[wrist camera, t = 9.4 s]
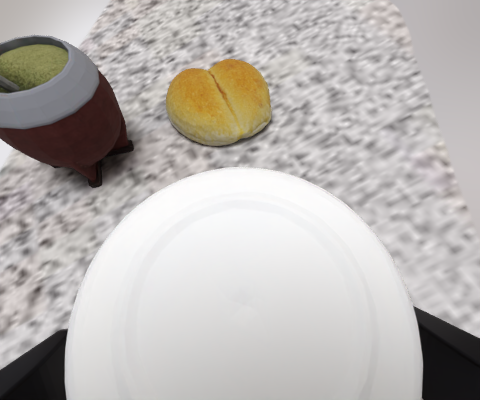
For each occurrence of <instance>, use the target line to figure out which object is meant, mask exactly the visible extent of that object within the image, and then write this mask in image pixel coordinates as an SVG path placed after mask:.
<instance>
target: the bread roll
mask: <svg viewBox="0 0 480 400" xmlns="http://www.w3.org/2000/svg"><path fill="white" fill-rule="evenodd" d="M166 110H167V113H168V117H169V119H170V121H171V123H172V125H173V126H174V127H175V128H176V129H177V130H178V131H179V132H180V133H182V134H183V135H184V136H186V137H188V138H189V139H191V140H194V141H196V142H199V143H201V144H205V145H210V146H221V145H227V144H231V143H234V142H236V141H238V140H239V139H241V138H248V137H251V136H253V135H255V134H256V133H258V132H259V131H261V130H262V129H263V128H264V127H265V126H266V125H267V124H268V123H269V121H270V120H271V114H272V108H271V105H270V96H269V89H268V84H267V82H266V81H265V80H264V78H263V76H262V75H261V73H260V72H259V71H258V70H257V69H256V68H255V67H253V66H252V65H250V64H249V63H246V62H244V61H240V60H235V59H226V60H223V61H220V62H218V63H217V64H215V65H214V66H213V67H212V68H210V69H209V70H208V71H207V70H204V69H195V68H191V69H186V70H184V71H182V72H181V73H179V74H178V75H177V76H176V77H175V78H174V79H173V80H172V82H171V84H170V86H169V89H168V93H167V97H166Z"/></svg>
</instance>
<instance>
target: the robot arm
mask: <svg viewBox="0 0 480 400" xmlns="http://www.w3.org/2000/svg"><path fill="white" fill-rule="evenodd" d="M413 307H414V306H413ZM414 311H415V315H416V319H417V323H418V329H419V336H420V343H421V350H422V358H423V380H422V398H423V400H480V338H478V337H476V336H474V335H472V334H470V333H467V332H465V331H463V330H461V329H459V328H457V327H455V326H453V325H451V324H449V323H447V322H445V321H443V320H441V319H439V318H437V317H435V316H433V315H431V314H429V313H427V312H425V311H422V310H420V309H418V308H416V307H414ZM67 333H68V329H62V330H59V331H57V332H56V333H54V334H53V335H52V336H50V337H49V338H47V339H46V340H44V341H43V342H41V343H40V344H38V345H37V346H35V347H34V348H32V349H31V350H29V351H28V352H26V353H25V354H23V355H22V356H20V357H19V358H17V359H16V360H14V361H13V362H12V363H10V364H9V365H7V366H6V367H4V368H3V369H1V370H0V400H67V398H66V389H65V347H66V340H67Z"/></svg>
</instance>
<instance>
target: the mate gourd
mask: <svg viewBox="0 0 480 400" xmlns="http://www.w3.org/2000/svg"><path fill="white" fill-rule="evenodd" d="M0 139H2V140H3V141H4V142H6V143H7V144H9V145H10V146H12V147H13V148H15V149H16V150H18V151H20V152H22V153H24V154H26V155H28V156H29V157H31V158H34V159H36V160H38V161H40V162H42V163H46V164H49V165H51V166H52V167H54V168H59V167H68V168H73V169H75V170H76V171H77V172H79V173H80V174H82V175H84V176H85V177H87V178H88V183H89V186H91V187H92V188H95V187H99V186H101V185H102V175H101V159H103V158H105V157H108V156H113V155H117V154H121V153H126V152H130V151H133V149H134V147H133V144H132V141H131V140H127V132H126V125H125V120H124V118H123V115H122V113H121V110H120V107H119V105H118V102H117V100H116V97H115V94H114V92H113V89H112V87H111V86H110V84H109V83H108V81H107V79H106V78H105V77H104V76H103V75H102V74H101V72H100V71H99V70H98V68H97V66H96V65H95V64H94V63H93V62H92V61H91V60H90V59H89V58H88V56H87V55H86V54H84V53H83V52H82V51H80V50H79V49H78V48H76V47H74V46H72V45H71V44H69V43H67V42H65V41H62V40H60V39H57V38H55V37H52V36H39V35H31V36H25V37H18V38H14V39H11V40H8V41H5V42H2V43H0Z"/></svg>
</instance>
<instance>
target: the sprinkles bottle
mask: <svg viewBox="0 0 480 400" xmlns="http://www.w3.org/2000/svg"><path fill="white" fill-rule="evenodd" d="M422 380H423V358H422V350H421V343H420V336H419V329H418V323H417V319H416V315H415V311H414V307H413V304H412V301H411V298H410V296H409V293H408V290H407V287H406V285H405V282H404V280H403V278H402V276H401V274H400V272H399V270H398V268H397V266H396V264H395V262H394V260H393V259H392V257H391V256H390V254H389V252H388V251H387V249H386V248H385V246H384V245H383V243H382V242H381V241H380V239H379V238H378V236H377V235H376V234H375V233H374V232H373V230H372V229H371V228H370V227H369V226H368V225H367V224H366V222H365V221H364V220H363V219H361V218H360V217H359V216H358V215H357V214H356V213H355V212H354V211H353V210H352V209H351V208H350V207H349V206H347V205H346V204H345V203H344V202H342V201H341V200H340V199H338V198H337V197H335V196H334V195H332V194H331V193H329V192H328V191H326V190H324V189H323V188H321V187H319V186H317V185H315V184H313V183H311V182H308V181H306V180H304V179H302V178H299V177H296V176H293V175H290V174H287V173H283V172H279V171H274V170H270V169H262V168H251V167H230V168H221V169H216V170H211V171H205V172H201V173H198V174H195V175H192V176H189V177H186V178H183V179H181V180H179V181H177V182H175V183H172V184H170V185H168V186H166V187H165V188H163V189H161V190H159V191H157V192H156V193H154V194H153V195H151V196H150V197H148V198H147V199H146V200H144V201H143V202H142V203H140V204H139V205H138V206H137V207H135V208H134V209H133V210H132V211H131V212H130V213H129V214H128V215H127V216H126V217H125V218H124V219H123V220H122V221H121V222H120V223H119V224H118V225H117V226H116V228H115V229H114V230H113V231H112V232H111V234H110V235H109V236H108V237H107V238H106V240H105V241H104V243H103V244H102V246H101V247H100V249H99V250H98V252H97V253H96V255H95V257H94V259H93V260H92V262H91V264H90V266H89V268H88V269H87V272H86V274H85V276H84V278H83V281H82V283H81V285H80V288H79V290H78V293H77V296H76V299H75V303H74V306H73V309H72V313H71V316H70V320H69V326H68V333H67V340H66V347H65V389H66V398H67V400H421V398H422Z"/></svg>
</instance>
